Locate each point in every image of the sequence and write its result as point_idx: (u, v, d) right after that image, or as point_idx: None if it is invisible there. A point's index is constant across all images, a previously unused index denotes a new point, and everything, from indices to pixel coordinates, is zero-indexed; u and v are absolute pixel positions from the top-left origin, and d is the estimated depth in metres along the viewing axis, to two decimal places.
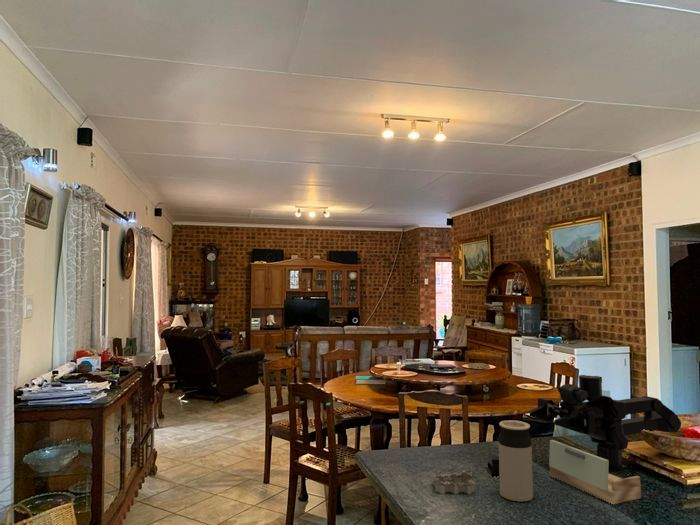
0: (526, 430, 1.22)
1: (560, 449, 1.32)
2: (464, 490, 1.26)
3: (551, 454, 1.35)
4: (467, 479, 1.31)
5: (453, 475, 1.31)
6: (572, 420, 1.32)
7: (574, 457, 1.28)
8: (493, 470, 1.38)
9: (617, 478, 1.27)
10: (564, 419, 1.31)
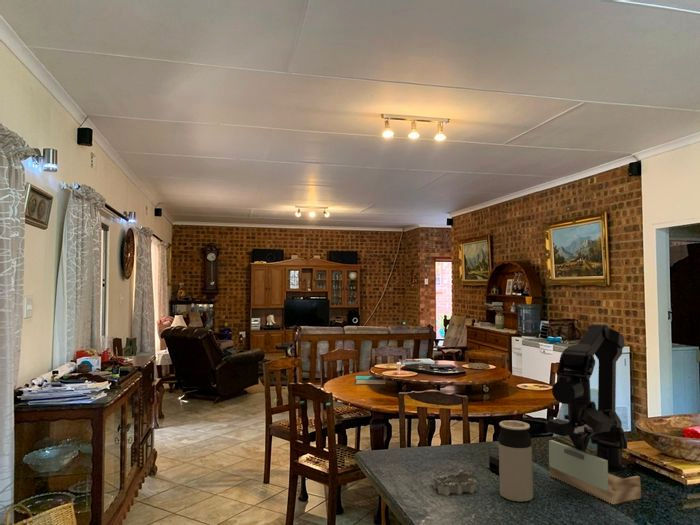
0: (526, 430, 1.22)
1: (559, 449, 1.32)
2: (466, 489, 1.26)
3: (551, 454, 1.35)
4: (464, 478, 1.31)
5: (451, 475, 1.31)
6: None
7: (573, 457, 1.28)
8: None
9: (617, 478, 1.27)
10: None
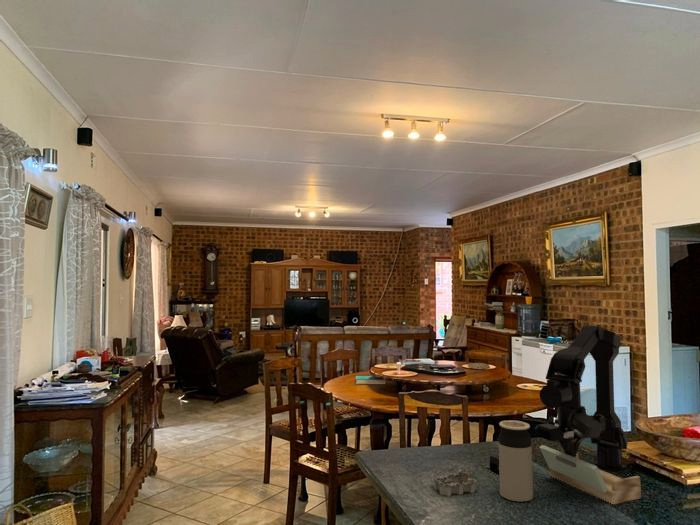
0: (526, 430, 1.22)
1: (552, 456, 1.31)
2: (467, 489, 1.26)
3: (546, 459, 1.34)
4: (463, 478, 1.32)
5: (450, 475, 1.31)
6: None
7: (566, 463, 1.27)
8: None
9: (617, 478, 1.27)
10: None
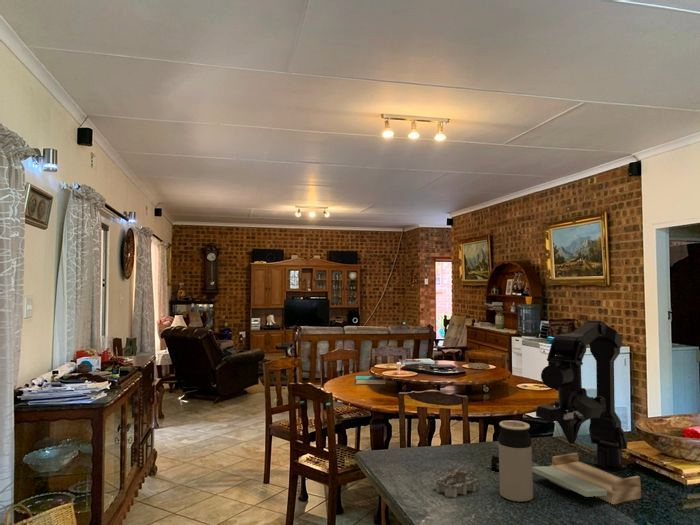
0: (526, 430, 1.22)
1: None
2: (469, 488, 1.27)
3: None
4: (460, 477, 1.32)
5: (449, 476, 1.30)
6: None
7: None
8: None
9: (617, 478, 1.27)
10: None
